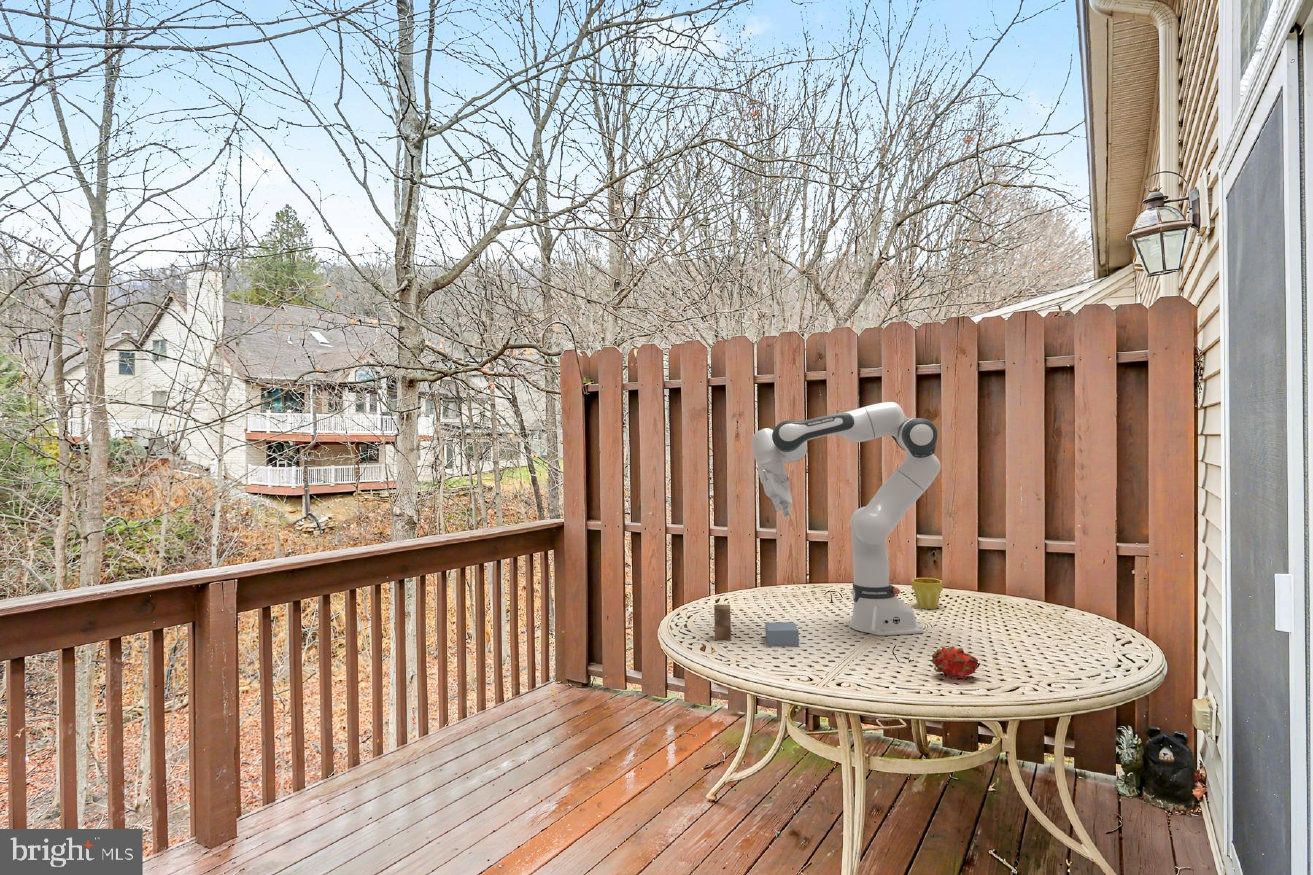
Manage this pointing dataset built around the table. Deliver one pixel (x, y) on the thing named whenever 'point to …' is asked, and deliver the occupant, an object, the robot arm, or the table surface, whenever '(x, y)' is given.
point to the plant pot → (927, 592)
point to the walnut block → (722, 622)
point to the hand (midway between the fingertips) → (783, 513)
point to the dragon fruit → (954, 662)
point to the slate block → (781, 634)
